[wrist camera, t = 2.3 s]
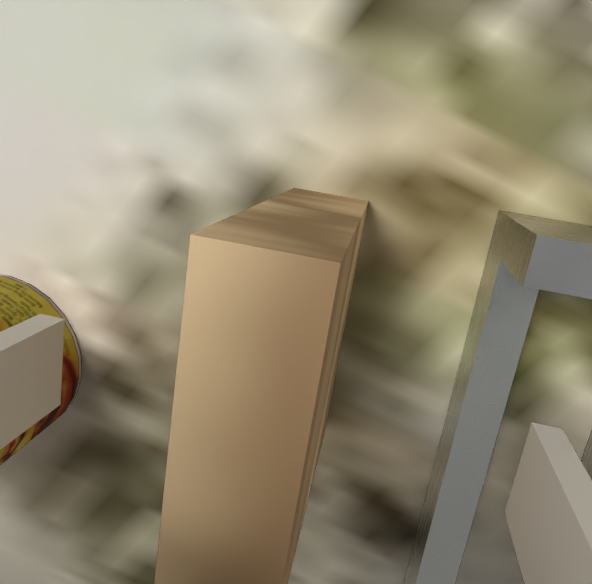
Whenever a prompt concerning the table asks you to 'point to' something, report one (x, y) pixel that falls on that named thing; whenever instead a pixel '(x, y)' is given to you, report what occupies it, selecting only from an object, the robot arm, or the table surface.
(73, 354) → the canned food
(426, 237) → the table surface
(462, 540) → the track
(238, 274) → the door panel
